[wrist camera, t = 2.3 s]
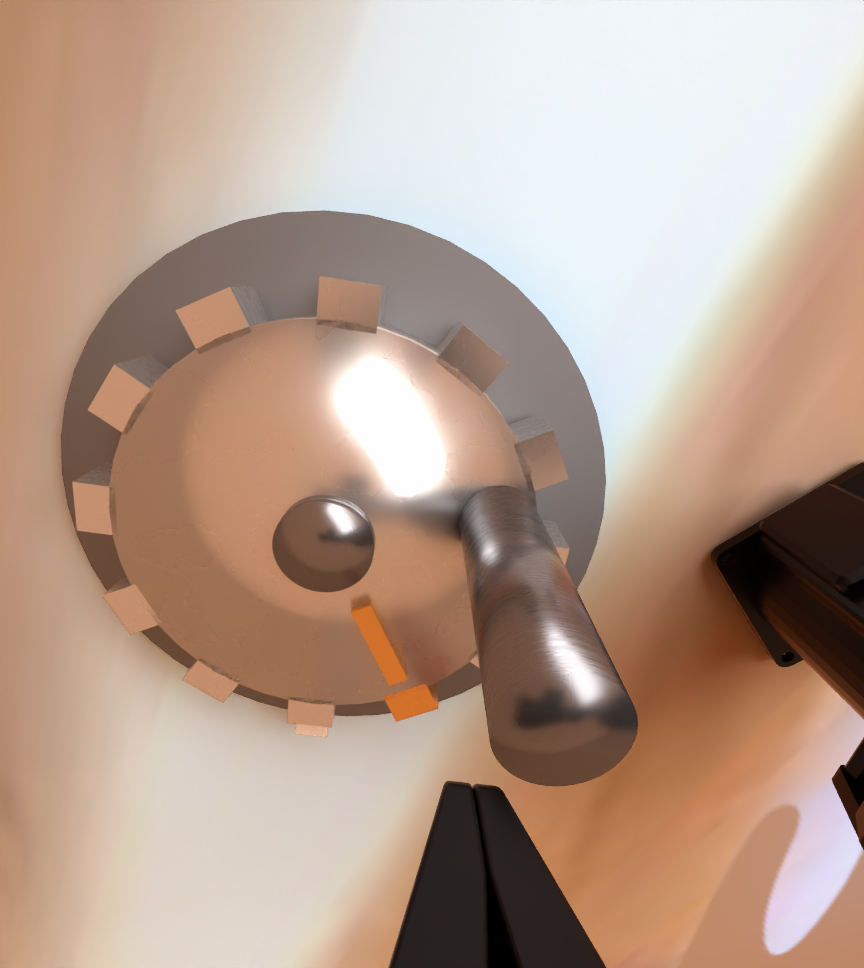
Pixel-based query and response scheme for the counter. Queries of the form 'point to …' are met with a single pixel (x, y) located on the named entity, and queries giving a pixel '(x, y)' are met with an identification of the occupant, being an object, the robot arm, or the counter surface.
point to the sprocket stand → (408, 306)
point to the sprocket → (352, 527)
